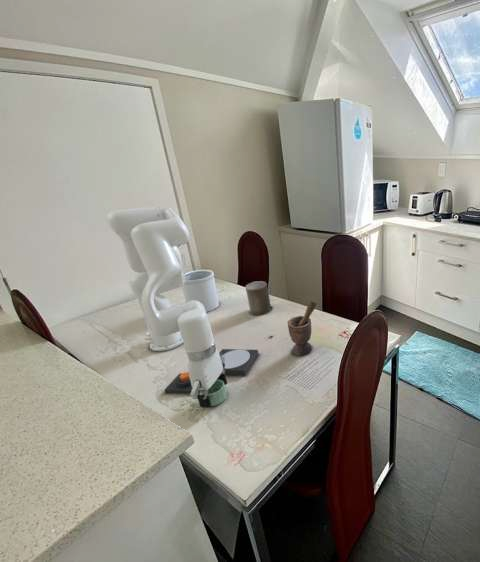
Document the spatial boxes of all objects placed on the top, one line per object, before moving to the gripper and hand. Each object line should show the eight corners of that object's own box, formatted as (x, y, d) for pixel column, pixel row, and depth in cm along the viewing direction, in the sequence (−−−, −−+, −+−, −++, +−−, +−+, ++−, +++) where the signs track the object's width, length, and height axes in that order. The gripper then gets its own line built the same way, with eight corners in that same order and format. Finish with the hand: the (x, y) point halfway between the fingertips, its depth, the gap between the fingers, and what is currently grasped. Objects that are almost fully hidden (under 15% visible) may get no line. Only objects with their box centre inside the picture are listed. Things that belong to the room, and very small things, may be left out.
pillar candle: (274, 310, 152) (269, 282, 146) (254, 317, 146) (249, 288, 140) (266, 303, 159) (261, 276, 153) (247, 310, 153) (241, 282, 147)
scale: (206, 375, 110) (205, 368, 109) (223, 354, 121) (222, 348, 120) (245, 376, 109) (244, 369, 108) (259, 355, 120) (257, 349, 119)
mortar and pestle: (307, 337, 130) (302, 295, 122) (323, 344, 126) (319, 300, 118) (287, 352, 121) (280, 307, 113) (303, 359, 117) (297, 313, 109)
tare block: (165, 393, 102) (162, 386, 101) (180, 376, 109) (178, 369, 108) (194, 393, 101) (192, 386, 100) (208, 377, 109) (206, 370, 108)
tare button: (178, 381, 103) (177, 377, 103) (184, 375, 106) (182, 372, 105) (187, 381, 103) (185, 378, 102) (192, 376, 106) (190, 372, 105)
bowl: (199, 407, 96) (195, 394, 94) (210, 391, 103) (207, 379, 101) (220, 407, 96) (217, 395, 94) (231, 391, 102) (227, 379, 100)
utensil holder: (211, 297, 166) (203, 267, 159) (226, 304, 158) (219, 273, 151) (182, 308, 156) (173, 276, 149) (197, 317, 147) (188, 283, 140)
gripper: (205, 334, 100) (217, 376, 107) (170, 369, 84) (186, 416, 91) (228, 334, 99) (238, 376, 106) (197, 369, 84) (211, 417, 90)
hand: (214, 395), depth 98 cm, fingers open, 9 cm apart
